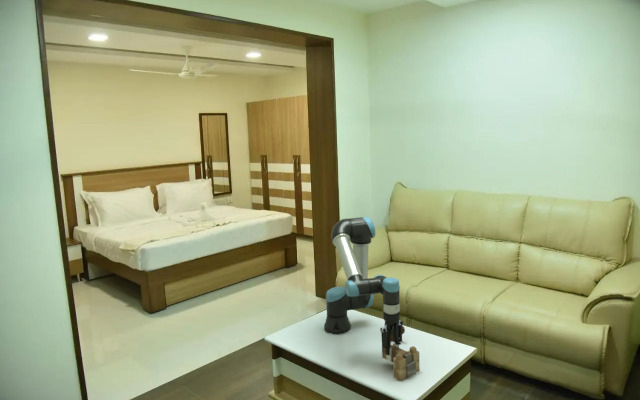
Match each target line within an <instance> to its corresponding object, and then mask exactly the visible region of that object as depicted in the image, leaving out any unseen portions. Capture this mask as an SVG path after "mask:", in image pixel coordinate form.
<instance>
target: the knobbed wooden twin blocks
mask: <svg viewBox="0 0 640 400" xmlns="http://www.w3.org/2000/svg"><path fill="white" fill-rule="evenodd" d="M406 351H407V352H410V353H412V362H411V363H409V364H407V365H406V359H405V358H403V355H402V354H401V353H398V354H397V355H396V357H395V358H393V363H392V365H393V366H392V367H393V368H392V369H393V371H392V372H393V373H392V374H393V378H394V379H396V380H397V381H400V382H401V381H403V380H405V379H410V378H412V377H414V376H416V375H417V372H418V371H420V351H418V350H417V348H416V347H415V346H414V345H413V346H411V347H410V348H409V350H406Z"/></svg>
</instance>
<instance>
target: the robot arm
mask: <svg viewBox="0 0 640 400" xmlns="http://www.w3.org/2000/svg"><path fill="white" fill-rule="evenodd" d="M330 236H331V241H332V245H334V247H336V250H337V254H338V257H339V260H340V263H341V266H342V268H343V271H344V275H345V278H346V280H347V281H346V282H345V283H344V286H335V287H331V288H330V289H328V290H327V291H326V292H325V293H326V294H325V301H326V302H325V303H326V304H325V306H326V317H325V321H324V324H323V327H324V328H323V329H324V331H325V332H326V333H327V334H332V335H343V334H347V333H348V332H350V331H351V330H352V329H351V326H352V325H351V322H350V320H349V316H348V311H353V310H360V309H362V310H363V309H366V308H368V309H369V308H370V307H371V306H373V303H374V297H375V296H374V295H378V294H381V295H382V300H383V301H382V302H383V303H382V307H383V308H382V309H383V313H382V314H383V321H384V324H383V325H384V326H383V327H380V330H379V331H380V333H381V348H382V347H383V348H385V349H386V359H385V360H386V361H387V362H390V363H392V348H390V346H391V345H393V346H395V347H398V348H400V345H402V344H401V342H403V334H402V326H403V325H404V322H403V321H402V320H401V316H400V315H401V313H400V311H401V310H400V309H401V308H400V302H401V301H400V288H401V287H400V281H399V279H398V278H396V277H387V276H385V275H383V274H377V275H375V276H374V277H372V278H371V277H370V278H369V277H368V275H369V273H368V272H369V245H370V244H371V243H372V239H374V238H375V237H376V226H375V224H374V221H373V220H372V218H370V217H368V216H366V217H365V216H362V217H361V216H360V217H352V218H343V219H340V220H338V221H337V222H336V223H335V224H334V225H333V228H332V230H331V235H330ZM392 334H393V339H394V341H393V343H391V342H392V341H391V337H392Z"/></svg>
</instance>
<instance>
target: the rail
mask: <svg viewBox="0 0 640 400" xmlns="http://www.w3.org/2000/svg"><path fill="white" fill-rule="evenodd" d="M390 348H392V362H391V363H392V364H393V358H395V357H396V355H397V354H398V353H401V354H402V355H403V358H405V359H406V365H407V364H409V363H411V362H412V353H410V352H407V351H408V350H406V349H405V350H404V349H402V348H401V347H399V348H398V347H395V346H393V344H391V346H390ZM381 357H382V359H384V360H386V349H385V348H383V347H382V346H381Z"/></svg>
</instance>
